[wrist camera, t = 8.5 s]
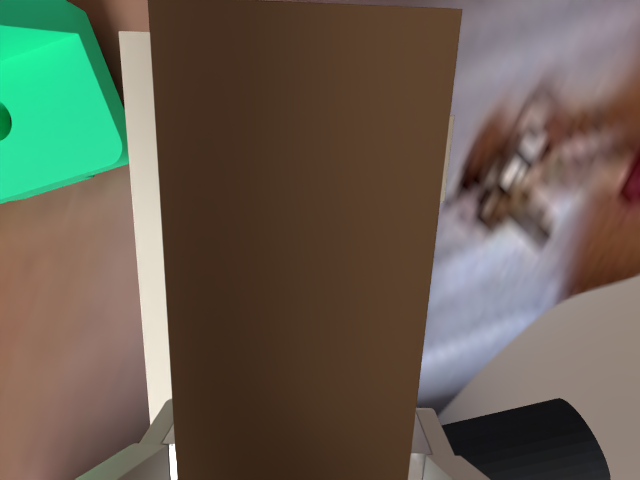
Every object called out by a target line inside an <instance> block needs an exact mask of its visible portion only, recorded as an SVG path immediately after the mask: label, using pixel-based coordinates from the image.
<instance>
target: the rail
mask: <svg viewBox="0 0 640 480" xmlns="http://www.w3.org/2000/svg"><path fill="white" fill-rule="evenodd" d="M148 12H149V28H150V45H151V61H152V77H153V94H154V110H155V126H156V143H157V159H158V176H159V192H160V208H161V225H162V241H163V257H164V274H165V290H166V307H167V323H168V339H169V356H170V372H171V388H172V405H173V421H174V438H175V454H176V470H177V480H408V475H409V466H410V457H411V449H412V440H413V431H414V423H415V414H416V405H417V397H418V388H419V379H420V371H421V362H422V353H423V345H424V336H425V327H426V319H427V310H428V301H429V293H430V284H431V275H432V267H433V258H434V249H435V241H436V232H437V223H438V215H439V206H440V197H441V189H442V180H443V171H444V163H445V154H446V145H447V137H448V128H449V119H450V111H451V102H452V93H453V85H454V76H455V67H456V59H457V50H458V41H459V33H460V24H461V15H462V9H450V8H426V7H402V6H378V5H354V4H330V3H306V2H282V1H258V0H148Z"/></svg>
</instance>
